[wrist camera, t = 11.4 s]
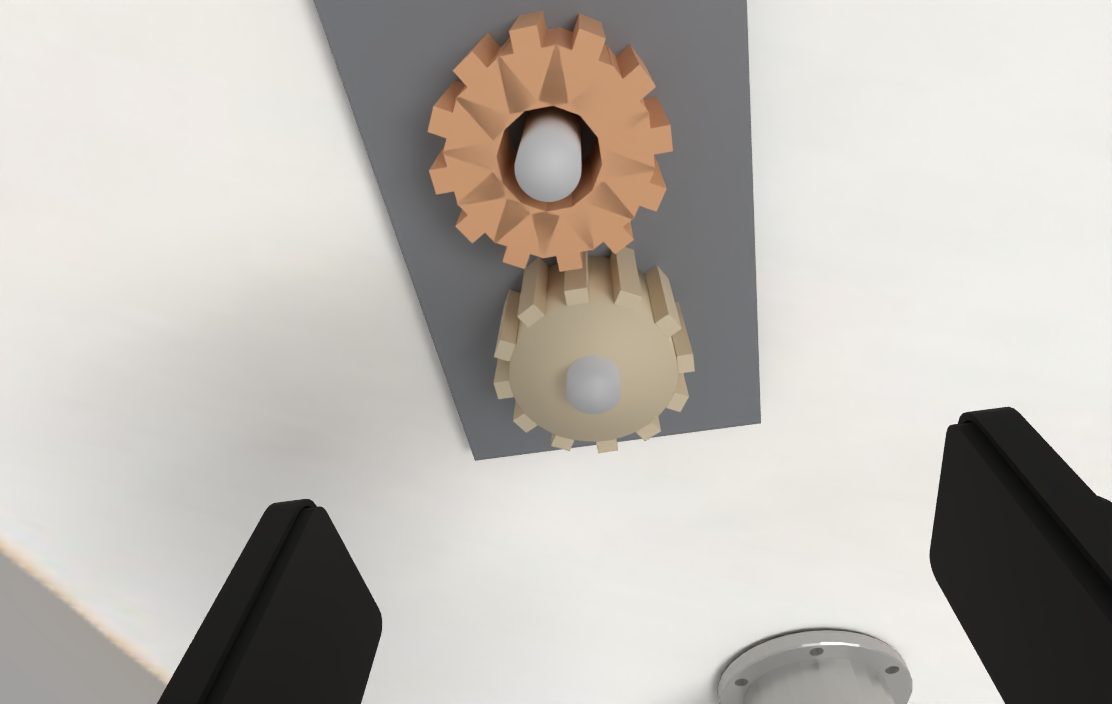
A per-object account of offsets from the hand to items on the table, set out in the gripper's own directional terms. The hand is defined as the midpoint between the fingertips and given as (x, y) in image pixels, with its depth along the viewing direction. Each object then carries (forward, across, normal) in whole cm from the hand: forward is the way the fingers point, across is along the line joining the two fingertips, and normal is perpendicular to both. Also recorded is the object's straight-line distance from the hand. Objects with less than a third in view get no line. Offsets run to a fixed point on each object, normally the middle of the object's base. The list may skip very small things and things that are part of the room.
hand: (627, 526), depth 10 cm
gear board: (+19, +1, +2) cm, 19 cm away
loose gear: (+17, +1, -2) cm, 17 cm away
